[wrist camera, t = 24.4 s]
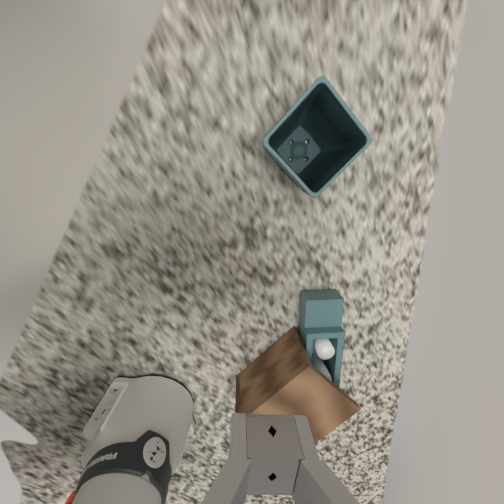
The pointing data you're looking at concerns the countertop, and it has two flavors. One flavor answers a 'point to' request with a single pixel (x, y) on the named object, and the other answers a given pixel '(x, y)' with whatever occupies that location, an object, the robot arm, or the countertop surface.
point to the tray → (323, 330)
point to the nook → (292, 388)
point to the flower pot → (317, 138)
